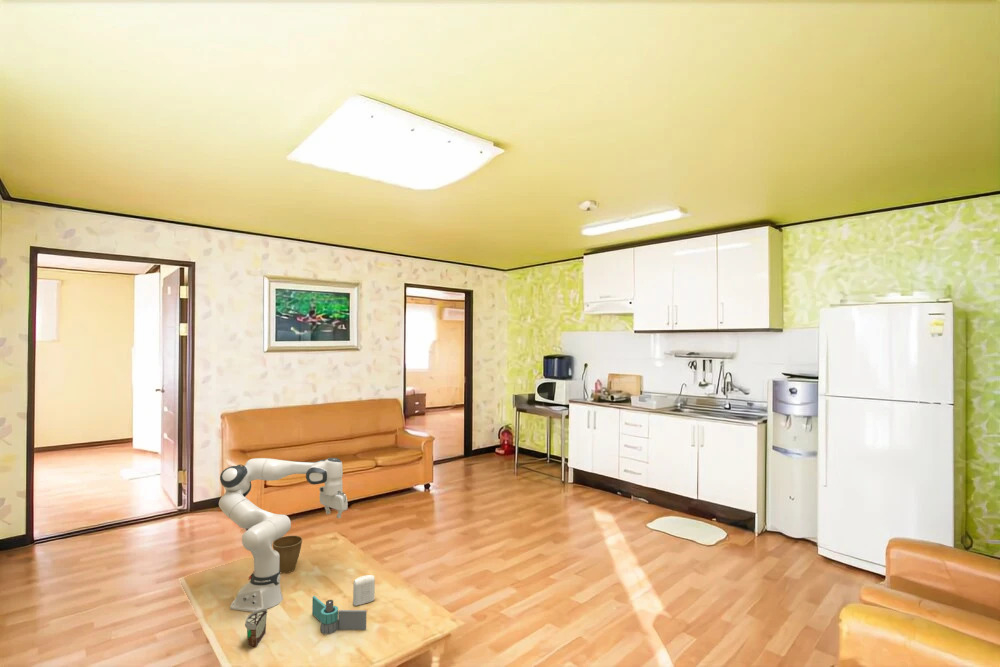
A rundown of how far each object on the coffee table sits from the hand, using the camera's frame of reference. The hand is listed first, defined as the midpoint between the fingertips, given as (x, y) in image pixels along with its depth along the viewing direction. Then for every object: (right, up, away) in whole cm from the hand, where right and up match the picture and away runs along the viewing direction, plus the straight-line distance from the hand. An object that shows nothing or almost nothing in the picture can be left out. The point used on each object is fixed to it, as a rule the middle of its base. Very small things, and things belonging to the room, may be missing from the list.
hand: (333, 515), depth 252 cm
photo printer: (+22, -34, -20) cm, 45 cm away
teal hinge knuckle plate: (+8, -33, -38) cm, 51 cm away
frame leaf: (+19, -33, -42) cm, 57 cm away
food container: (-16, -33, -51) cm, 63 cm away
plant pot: (-29, -34, +11) cm, 47 cm away
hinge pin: (+13, -33, -42) cm, 55 cm away
